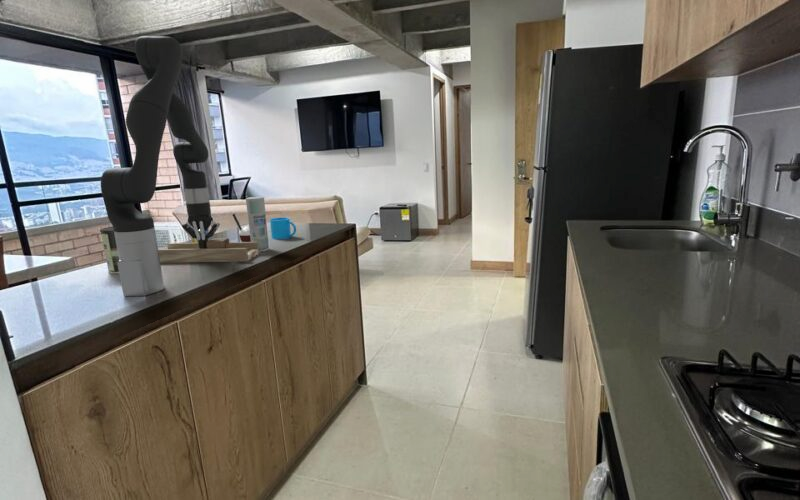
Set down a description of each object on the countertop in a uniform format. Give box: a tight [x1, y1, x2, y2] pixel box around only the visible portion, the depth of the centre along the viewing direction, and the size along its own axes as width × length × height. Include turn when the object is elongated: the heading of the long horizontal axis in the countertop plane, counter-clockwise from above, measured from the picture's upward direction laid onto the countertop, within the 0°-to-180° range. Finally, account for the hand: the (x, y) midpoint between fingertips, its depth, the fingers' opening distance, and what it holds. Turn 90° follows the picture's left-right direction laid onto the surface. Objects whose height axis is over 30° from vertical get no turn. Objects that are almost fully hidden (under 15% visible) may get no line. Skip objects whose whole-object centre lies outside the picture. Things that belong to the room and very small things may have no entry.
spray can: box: [245, 196, 270, 253], centre depth 159 cm, size 6×6×20 cm
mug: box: [269, 217, 297, 240], centre depth 183 cm, size 12×8×8 cm
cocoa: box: [232, 213, 251, 242], centre depth 175 cm, size 10×6×12 cm, turn 69°
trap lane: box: [158, 241, 260, 264], centre depth 150 cm, size 11×34×4 cm, turn 87°
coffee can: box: [99, 226, 120, 275], centre depth 137 cm, size 10×10×14 cm
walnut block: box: [207, 237, 230, 249], centre depth 150 cm, size 6×6×4 cm
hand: (204, 249), depth 150 cm, fingers closed
